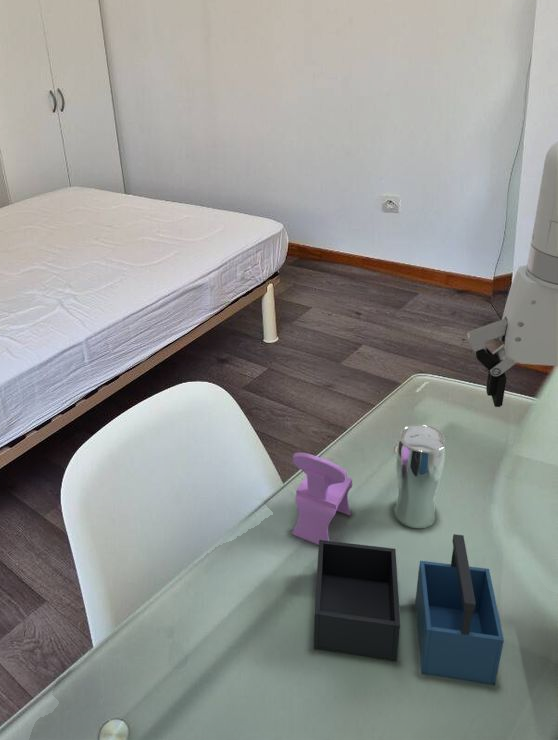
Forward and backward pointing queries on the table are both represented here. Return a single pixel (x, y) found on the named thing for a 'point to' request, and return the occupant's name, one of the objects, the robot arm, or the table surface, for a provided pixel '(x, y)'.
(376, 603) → the charcoal bin
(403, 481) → the beer glass
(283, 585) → the table surface
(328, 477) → the toy chair
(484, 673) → the blue bin
